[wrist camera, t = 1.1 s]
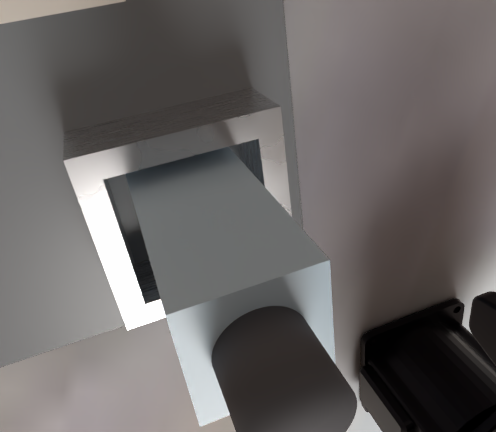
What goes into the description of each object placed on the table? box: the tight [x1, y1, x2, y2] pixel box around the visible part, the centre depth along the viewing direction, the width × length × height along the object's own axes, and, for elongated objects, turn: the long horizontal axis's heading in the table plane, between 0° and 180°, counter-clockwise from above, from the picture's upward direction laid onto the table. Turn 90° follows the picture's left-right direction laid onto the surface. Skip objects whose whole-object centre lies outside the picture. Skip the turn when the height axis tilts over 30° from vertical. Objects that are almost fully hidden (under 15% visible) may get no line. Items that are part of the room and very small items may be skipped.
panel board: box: [0, 0, 303, 368], centre depth 13 cm, size 14×22×1 cm, turn 8°
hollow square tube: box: [63, 87, 292, 330], centre depth 15 cm, size 6×6×2 cm
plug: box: [125, 147, 357, 432], centre depth 12 cm, size 3×3×10 cm
